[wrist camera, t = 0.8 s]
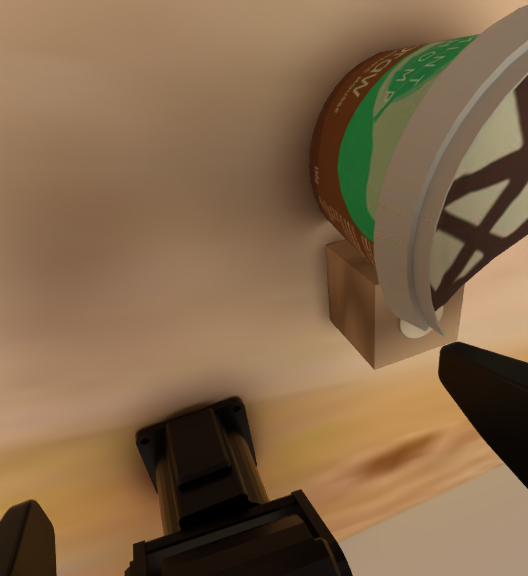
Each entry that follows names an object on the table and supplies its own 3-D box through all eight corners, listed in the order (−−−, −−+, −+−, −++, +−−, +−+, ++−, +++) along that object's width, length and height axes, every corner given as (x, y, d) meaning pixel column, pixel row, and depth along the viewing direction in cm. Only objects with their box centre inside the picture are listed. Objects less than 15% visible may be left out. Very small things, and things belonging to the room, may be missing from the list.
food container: (438, -56, 18) (736, -155, 10) (486, 68, 21) (735, 74, 13) (231, 153, 19) (335, 228, 11) (307, 240, 22) (431, 347, 14)
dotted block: (401, 296, 27) (459, 342, 22) (329, 319, 26) (376, 372, 21) (404, 222, 24) (471, 258, 20) (324, 244, 23) (377, 287, 19)
